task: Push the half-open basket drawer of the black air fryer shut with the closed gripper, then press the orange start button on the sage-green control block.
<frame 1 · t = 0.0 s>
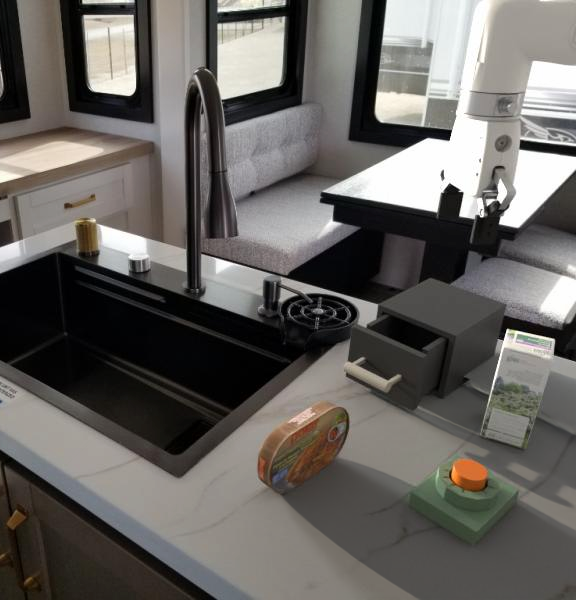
hand: (463, 230, 89), 24 cm above the worktop, tool pointing down, fingers open, 9 cm apart
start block: (461, 504, 75), on the worktop
start button: (469, 475, 73), point 4 cm above the worktop, slide at 0.1 cm
tin: (301, 472, 81), on the worktop
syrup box: (504, 434, 87), on the worktop
air fryer: (430, 363, 103), on the worktop
basket: (400, 356, 94), point 5 cm above the worktop, slide at 6.0 cm
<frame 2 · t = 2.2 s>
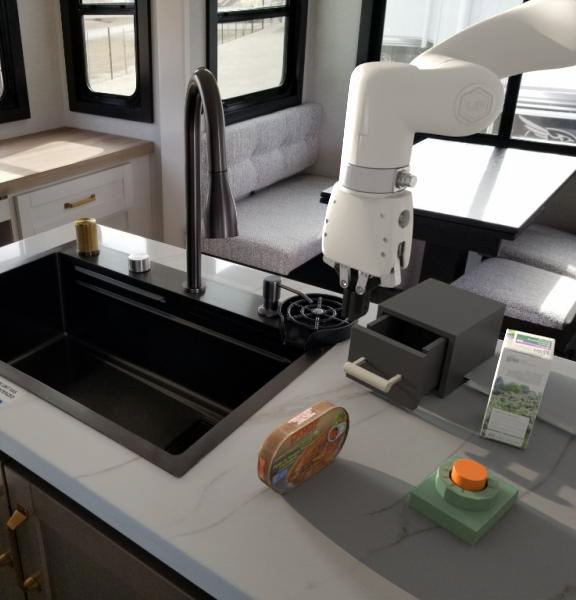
hand: (353, 315, 82), 17 cm above the worktop, tool pointing down, fingers closed
nothing on the worktop moved.
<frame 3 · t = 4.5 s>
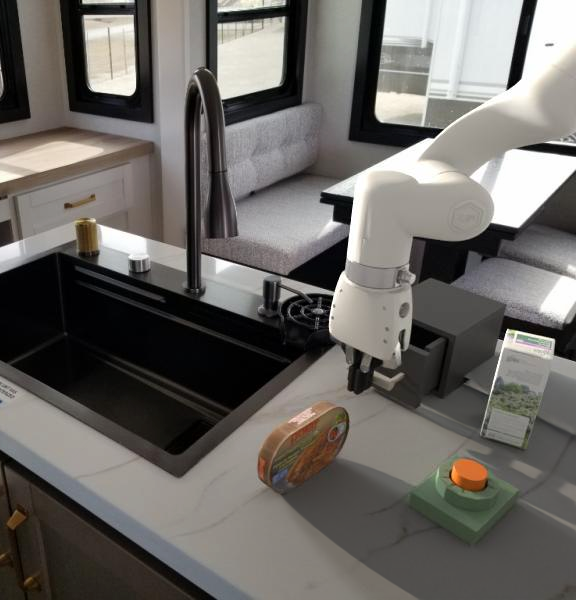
hand: (358, 388, 90), 4 cm above the worktop, tool pointing down, fingers closed
basket: (402, 355, 95), point 5 cm above the worktop, slide at 5.3 cm, touching gripper
everything else where it was.
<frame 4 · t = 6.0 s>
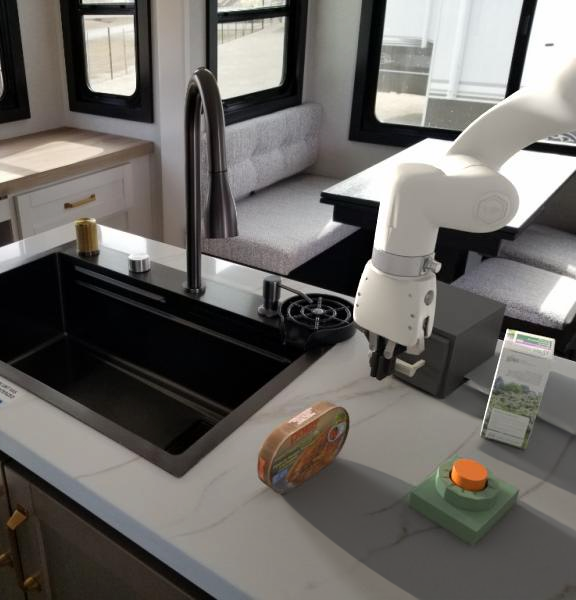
hand: (380, 375, 92), 4 cm above the worktop, tool pointing down, fingers closed
basket: (422, 343, 98), point 5 cm above the worktop, slide at 0.0 cm, touching air fryer, gripper
everything else where it was.
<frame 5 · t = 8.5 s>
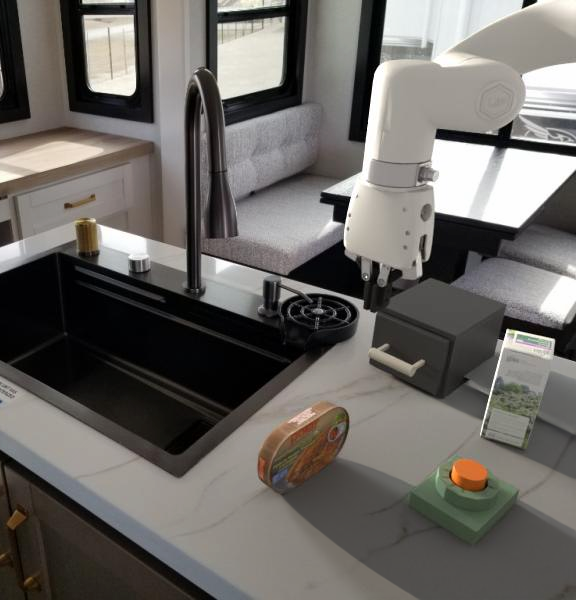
hand: (375, 307, 84), 17 cm above the worktop, tool pointing down, fingers closed
basket: (422, 343, 98), point 5 cm above the worktop, slide at 0.0 cm, touching air fryer
everything else where it was.
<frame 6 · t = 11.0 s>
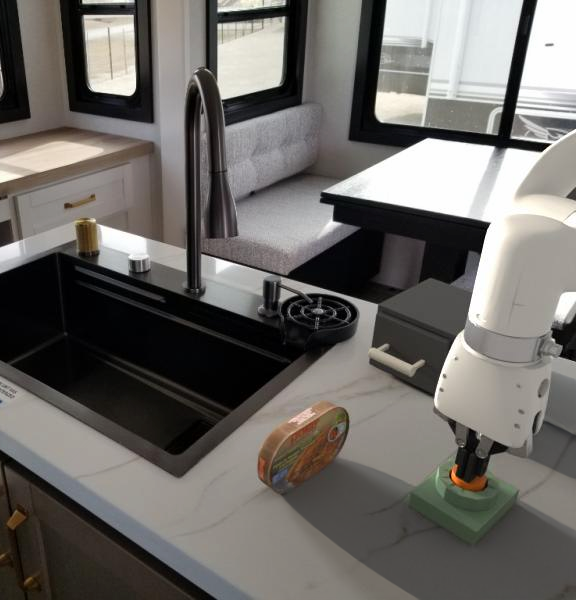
hand: (468, 474, 73), 5 cm above the worktop, tool pointing down, fingers closed
start button: (467, 479, 74), point 4 cm above the worktop, slide at -0.6 cm, touching gripper
everything else where it was.
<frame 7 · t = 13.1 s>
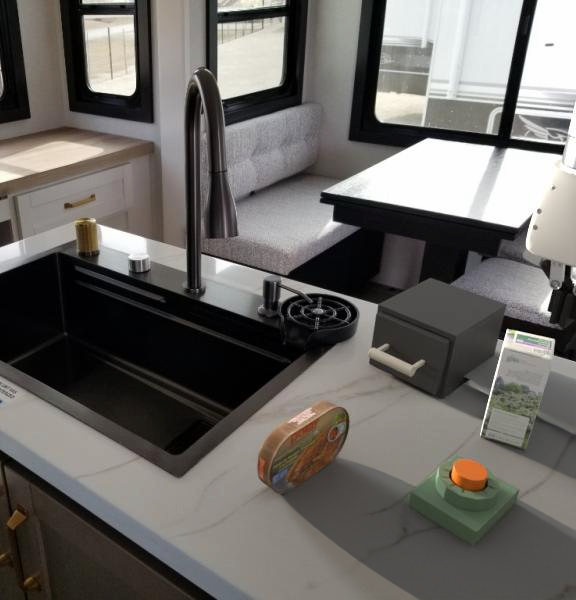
hand: (562, 321, 70), 22 cm above the worktop, tool pointing down, fingers closed
start button: (469, 475, 73), point 4 cm above the worktop, slide at 0.1 cm
everything else where it was.
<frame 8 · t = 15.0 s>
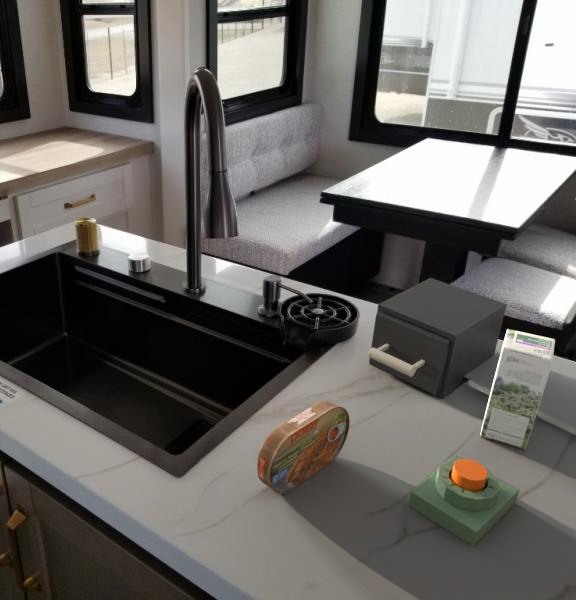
nothing on the worktop moved.
at the end: basket slide at 0.0 cm; start button pushed in 1.1 cm at the most during the clip, back to where it started at the end; start button slide at 0.1 cm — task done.
